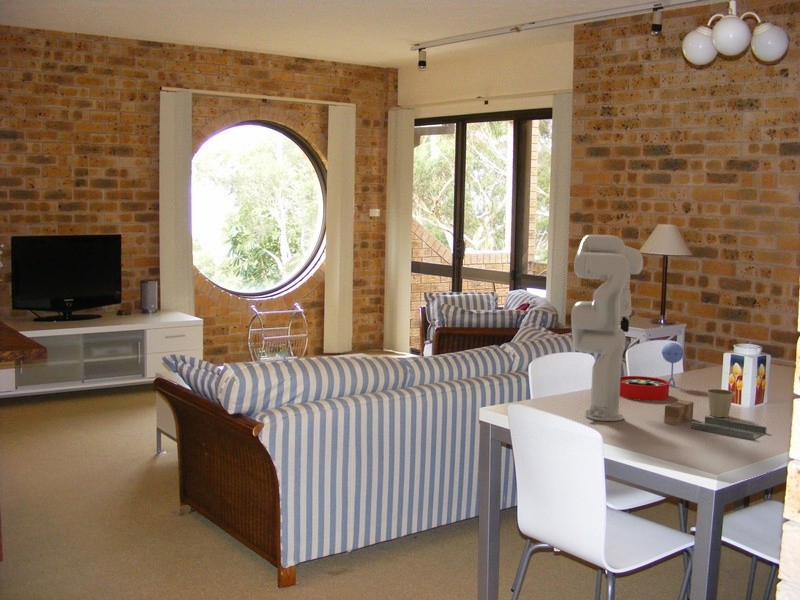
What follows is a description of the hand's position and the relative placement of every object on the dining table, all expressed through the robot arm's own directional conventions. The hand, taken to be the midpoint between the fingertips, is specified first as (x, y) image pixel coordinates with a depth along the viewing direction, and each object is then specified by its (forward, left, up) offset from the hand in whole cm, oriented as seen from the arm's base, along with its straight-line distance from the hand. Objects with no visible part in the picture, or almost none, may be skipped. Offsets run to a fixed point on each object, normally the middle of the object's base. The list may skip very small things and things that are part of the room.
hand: (616, 332), depth 326 cm
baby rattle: (+44, -3, -26) cm, 51 cm away
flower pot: (+6, -38, -26) cm, 46 cm away
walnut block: (-12, -31, -26) cm, 42 cm away
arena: (-13, -48, -26) cm, 56 cm away
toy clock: (+18, -3, -26) cm, 32 cm away
